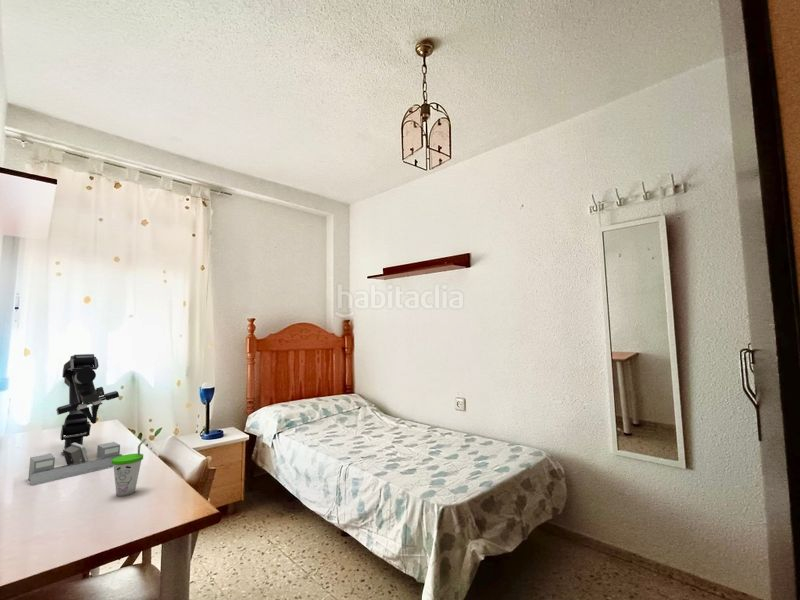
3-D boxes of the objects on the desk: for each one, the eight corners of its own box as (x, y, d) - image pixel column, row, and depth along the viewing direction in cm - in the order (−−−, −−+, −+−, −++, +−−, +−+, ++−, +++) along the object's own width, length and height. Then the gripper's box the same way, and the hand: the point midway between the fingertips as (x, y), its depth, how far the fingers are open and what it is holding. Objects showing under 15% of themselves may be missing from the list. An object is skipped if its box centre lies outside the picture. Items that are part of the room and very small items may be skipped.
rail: (29, 483, 119) (30, 472, 119) (119, 463, 138) (120, 453, 138) (31, 485, 118) (31, 474, 118) (121, 464, 136) (122, 454, 137)
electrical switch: (91, 470, 131) (90, 444, 131) (72, 476, 127) (71, 449, 127) (80, 466, 136) (79, 440, 136) (62, 471, 132) (61, 445, 132)
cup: (103, 500, 105) (107, 446, 107) (116, 489, 113) (119, 439, 115) (135, 496, 107) (138, 443, 109) (146, 486, 115) (148, 437, 117)
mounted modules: (28, 479, 123) (30, 457, 124) (112, 460, 141) (113, 441, 142) (32, 484, 119) (34, 461, 120) (119, 464, 137) (120, 444, 138)
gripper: (54, 392, 135) (65, 433, 134) (117, 376, 149) (126, 413, 148) (52, 394, 142) (62, 433, 142) (111, 378, 156) (121, 414, 156)
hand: (94, 423), depth 147 cm, fingers closed
